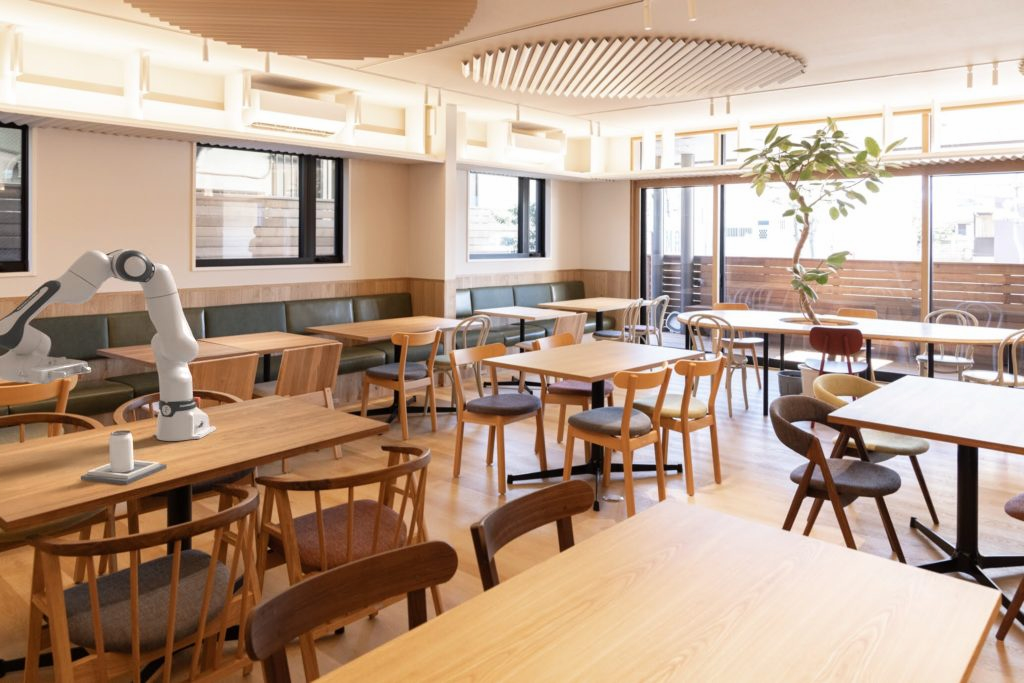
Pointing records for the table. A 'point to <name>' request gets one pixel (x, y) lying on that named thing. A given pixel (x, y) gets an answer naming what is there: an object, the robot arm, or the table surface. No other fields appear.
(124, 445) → the can
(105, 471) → the grey rimmed tray
